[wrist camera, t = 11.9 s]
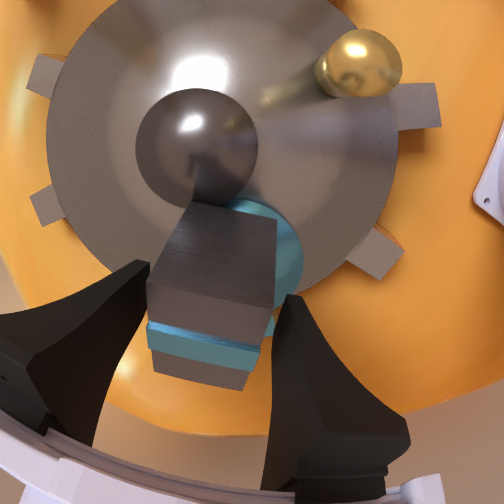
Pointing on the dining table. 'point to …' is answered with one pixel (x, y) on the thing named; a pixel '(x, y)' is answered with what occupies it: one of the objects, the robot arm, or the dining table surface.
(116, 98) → the sprocket disc
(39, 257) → the dining table surface
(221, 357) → the marked link block
